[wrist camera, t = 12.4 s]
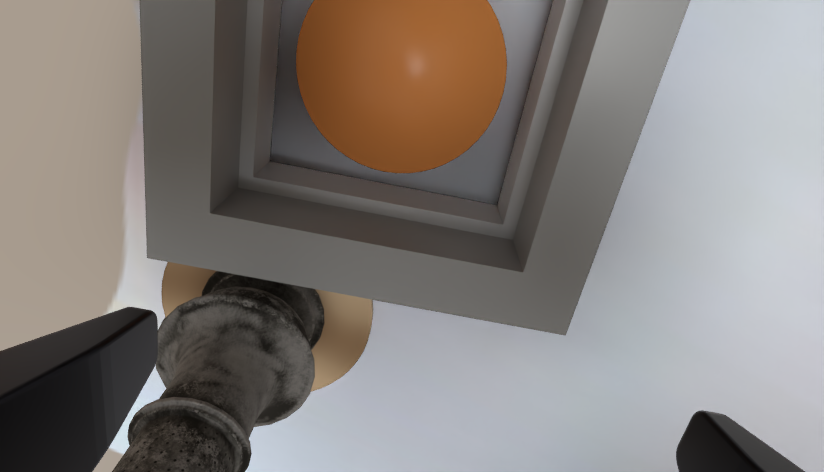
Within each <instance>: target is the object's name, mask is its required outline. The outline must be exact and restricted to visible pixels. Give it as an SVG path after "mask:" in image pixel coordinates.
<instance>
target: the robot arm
mask: <svg viewBox="0 0 824 472" xmlns="http://www.w3.org/2000/svg"><path fill="white" fill-rule="evenodd" d="M157 357H158V326H157V316H156V314H155V313H154V312H153V311H151V310H146V309H140V308H135V307H127V308H124V309H121V310H118V311H115V312H112V313H109V314H106V315H104V316H101V317H98V318H95V319H92V320H89V321H86V322H83V323H81V324H77V325H75V326H72V327H69V328H66V329H63V330H60V331H58V332H54V333H51V334H49V335H46V336H43V337H40V338H37V339H34V340H32V341H28V342H25V343H23V344H20V345H17V346H14V347H11V348H8V349H5V350H3V351H0V472H92V471H93V470H94V468H95V467H96V465H97V464H98V463H99V461H100V460H101V458H102V457H103V455H104V454H105V452H106V451H107V449H108V448H109V446H110V444H111V443H112V441H113V439H114V438H115V436H116V434H117V433H118V431H119V429H120V427H121V426H122V424H123V422H124V420H125V418H126V417H127V415H128V413H129V411H130V410H131V408H132V406H133V404H134V402H135V401H136V399H137V397H138V395H139V393H140V392H141V390H142V388H143V386H144V385H145V383H146V381H147V379H148V377H149V376H150V374H151V372H152V370H153V369H154V367H155V364H156V361H157ZM676 460H677V465H678V469H679V472H805V471H803V470H802V469H801V468H799V467H798V466H796V465H795V464H794V463H792V462H791V461H789V460H788V459H787V458H785V457H784V456H782V455H781V454H780V453H778V452H777V451H775V450H774V449H773V448H771V447H770V446H768V445H767V444H765V443H764V442H763V441H761V440H760V439H758V438H757V437H756V436H754V435H753V434H751V433H750V432H749V431H747V430H746V429H744V428H743V427H742V426H740V425H739V424H737V423H736V422H735V421H733V420H732V419H730V418H729V417H727V416H726V415H723V414H719V413H714V412H708V411H698V412H696V413H695V414H694V415H693V416H692V418H691V420H690V422H689V424H688V426H687V428H686V430H685V432H684V434H683V436H682V438H681V440H680V442H679V444H678V447H677V451H676Z"/></svg>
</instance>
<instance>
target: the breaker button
mask: <svg viewBox="0 0 824 472" xmlns="http://www.w3.org/2000/svg"><path fill="white" fill-rule="evenodd" d="M506 69H507V59H506V48H505V43H504V37H503V33H502V30H501V27H500V24H499V21H498V19H497V17H496V15H495V13H494V11H493V9H492V7H491V5H490V4H489V2H488V1H487V0H314V1H313V3H312V4H311V6H310V8H309V9H308V12H307V14H306V16H305V19H304V21H303V23H302V27H301V30H300V34H299V38H298V44H297V51H296V70H297V80H298V84H299V89H300V93H301V96H302V99H303V102H304V105H305V107H306V109H307V111H308V113H309V115H310V117H311V119H312V121H313V122H314V124H315V125H316V127H317V128H318V130H319V131H320V132H321V134H322V135H323V136H324V137H325V138H326V139H327V141H328V142H330V143H331V144H332V145H333V146H334V147H335V148H336V149H337V150H338V151H340V152H341V153H343V154H344V155H345V156H347V157H348V158H350V159H352V160H354V161H355V162H357V163H359V164H362V165H364V166H367V167H369V168H372V169H376V170H380V171H383V172H391V173H415V172H422V171H426V170H430V169H434V168H436V167H439V166H441V165H444V164H446V163H448V162H450V161H452V160H453V159H455V158H457V157H458V156H460V155H461V154H463V153H464V152H465V151H467V150H468V149H469V148H470V147H471V146H472V145H473V144H474V143H475V142H476V141H477V140H478V139H479V138H480V137H481V136H482V134H483V133H484V132H485V131H486V129H487V128H488V126H489V124H490V123H491V121H492V120H493V118H494V116H495V114H496V111H497V109H498V107H499V104H500V101H501V98H502V95H503V92H504V86H505V81H506Z"/></svg>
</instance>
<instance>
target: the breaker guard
mask: <svg viewBox="0 0 824 472" xmlns="http://www.w3.org/2000/svg"><path fill="white" fill-rule="evenodd" d="M689 2H690V0H553V2H552V6H551V10H550V13H549V17H548V21H547V24H546V28H545V32H544V35H543V39H542V43H541V46H540V50H539V54H538V57H537V61H536V65H535V68H534V72H533V76H532V79H531V83H530V87H529V90H528V94H527V98H526V101H525V105H524V109H523V113H522V116H521V120H520V124H519V127H518V131H517V135H516V138H515V142H514V146H513V149H512V153H511V157H510V160H509V164H508V168H507V171H506V175H505V179H504V182H503V186H502V190H501V193H500V197H499V201H498V204H497V205H494V204H488V203H483V202H478V201H473V200H468V199H462V198H457V197H452V196H447V195H442V194H437V193H431V192H426V191H421V190H416V189H411V188H405V187H400V186H395V185H390V184H385V183H379V182H374V181H369V180H364V179H359V178H354V177H348V176H343V175H338V174H333V173H328V172H322V171H317V170H312V169H307V168H302V167H296V166H291V165H286V164H281V163H276V162H271V161H270V154H271V140H272V127H273V113H274V100H275V87H276V73H277V60H278V47H279V33H280V20H281V6H282V0H140V28H141V62H142V97H143V132H144V166H145V201H146V236H147V258H150V259H156V260H161V261H167V262H172V263H177V264H183V265H188V266H194V267H199V268H204V269H210V270H215V271H221V272H226V273H231V274H237V275H242V276H248V277H253V278H258V279H264V280H269V281H275V282H280V283H285V284H291V285H296V286H302V287H307V288H312V289H318V290H323V291H328V292H334V293H339V294H345V295H350V296H355V297H361V298H366V299H372V300H377V301H382V302H388V303H393V304H399V305H404V306H409V307H415V308H420V309H426V310H431V311H436V312H442V313H447V314H453V315H458V316H463V317H469V318H474V319H480V320H485V321H490V322H496V323H501V324H507V325H512V326H517V327H523V328H528V329H534V330H539V331H544V332H550V333H555V334H561V335H566V333H567V330H568V327H569V325H570V322H571V319H572V317H573V314H574V311H575V309H576V306H577V303H578V301H579V298H580V295H581V292H582V290H583V287H584V284H585V282H586V279H587V276H588V274H589V271H590V268H591V266H592V263H593V260H594V258H595V255H596V252H597V250H598V247H599V244H600V241H601V239H602V236H603V233H604V231H605V228H606V225H607V223H608V220H609V217H610V215H611V212H612V209H613V207H614V204H615V201H616V198H617V196H618V193H619V190H620V188H621V185H622V182H623V180H624V177H625V174H626V172H627V169H628V166H629V164H630V161H631V158H632V156H633V153H634V150H635V147H636V145H637V142H638V139H639V137H640V134H641V131H642V129H643V126H644V123H645V121H646V118H647V115H648V113H649V110H650V107H651V104H652V102H653V99H654V96H655V94H656V91H657V88H658V86H659V83H660V80H661V78H662V75H663V72H664V70H665V67H666V64H667V62H668V59H669V56H670V53H671V51H672V48H673V45H674V43H675V40H676V37H677V35H678V32H679V29H680V27H681V24H682V21H683V19H684V16H685V13H686V10H687V8H688V5H689Z"/></svg>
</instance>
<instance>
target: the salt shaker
mask: <svg viewBox="0 0 824 472" xmlns="http://www.w3.org/2000/svg"><path fill="white" fill-rule="evenodd" d="M323 327H324V308H323V305H322V302H321V299H320V296H319V294H318V293H317V291H316V290H315V289H312V288H307V287H302V286H296V285H291V284H285V283H280V282H275V281H269V280H264V279H258V278H253V277H248V276H242V275H237V274H231V273H226V272H221V271H216V272H215V273H214V274H213V275H212V276H211V277H210V278H209V279H208V281H207V283H206V285H205V287H204V289H203V290H202V295H201V296H200V297H195V298H193V299H191V300H189V301H187V302H185V303H183V304H181V305H179V306H177V307H176V308H175V309H174V310H173V311H172V312H171V313H170V314H169V315H168V316H167V317H166V318H165V319H164V320H163V322H162V324H161V326H160V328H159V329H158V357H157V361H156V369H157V371H158V373H159V375H160V377H161V379H162V381H163V383H164V385H165V387H166V388H167V389H166V390H165V391H164V393H163V394H162V396H161V397H160V399H158V400H156V401H154V402H151V403H149V404H147V405H145V406H144V407H143V408H141V409H140V410H139V411H138V412H137V413H136V414H135V415H134V417H133V419H132V421H131V423H130V425H129V429H128V441H129V445H130V446H129V448H128V449H127V451H126V452H125V454H124V455H123V457H122V458H121V460H120V461H119V462H118V464H117V466H116V467H115V468H114V470H113V471H112V472H245V471H246V469H247V468H248V466H249V462H250V458H251V447H250V441H249V437H250V434H251V432H252V430H253V427H257V426H263V425H270V424H272V423H275V422H277V421H280V420H282V419H285V418H287V417H288V416H290V415H291V414H292V413H294V412H295V411H296V410H297V409H299V408H300V407H301V406H302V404H303V403H304V401H305V400H306V399H307V397H308V396H309V394H310V392H311V388H312V385H313V382H314V378H315V363H314V357H313V354H312V351H311V350H312V349H313V348H314V346H315V345H316V343H317V342H318V340H319V339H320V337H321V334H322V330H323Z"/></svg>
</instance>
